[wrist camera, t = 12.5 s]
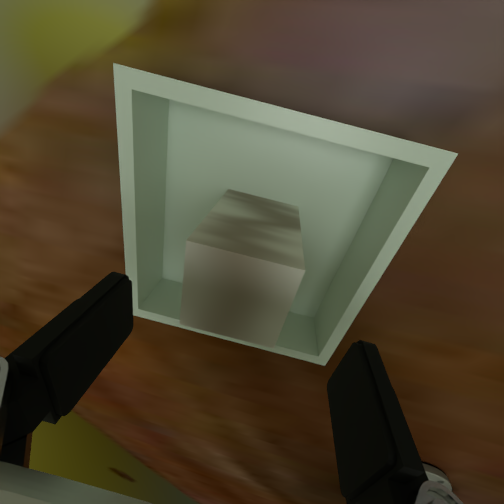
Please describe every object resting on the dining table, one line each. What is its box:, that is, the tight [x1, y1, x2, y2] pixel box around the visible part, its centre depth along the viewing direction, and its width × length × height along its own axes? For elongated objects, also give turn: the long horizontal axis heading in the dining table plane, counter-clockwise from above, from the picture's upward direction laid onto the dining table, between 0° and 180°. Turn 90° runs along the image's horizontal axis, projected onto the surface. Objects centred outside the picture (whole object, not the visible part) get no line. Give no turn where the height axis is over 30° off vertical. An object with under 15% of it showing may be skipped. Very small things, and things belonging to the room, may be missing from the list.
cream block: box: [179, 189, 305, 349], centre depth 14 cm, size 5×5×8 cm
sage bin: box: [113, 63, 458, 366], centre depth 17 cm, size 16×16×5 cm
